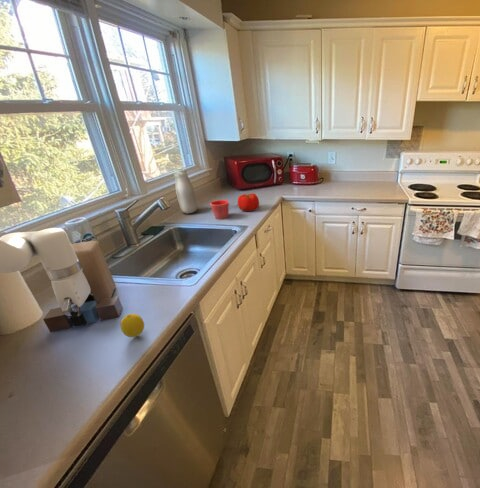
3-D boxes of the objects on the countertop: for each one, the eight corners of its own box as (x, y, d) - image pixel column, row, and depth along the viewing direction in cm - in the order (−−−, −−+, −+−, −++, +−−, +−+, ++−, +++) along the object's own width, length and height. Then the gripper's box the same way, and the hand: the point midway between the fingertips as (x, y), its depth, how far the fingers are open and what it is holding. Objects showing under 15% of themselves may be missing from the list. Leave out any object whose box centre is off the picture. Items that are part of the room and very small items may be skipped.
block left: (50, 332, 85) (42, 319, 83) (57, 321, 89) (50, 309, 87) (70, 327, 87) (63, 314, 85) (76, 317, 91) (70, 305, 89)
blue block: (77, 326, 87) (70, 313, 85) (82, 316, 92) (76, 304, 89) (96, 322, 89) (90, 309, 87) (100, 312, 93) (95, 300, 91)
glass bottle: (189, 209, 189) (179, 167, 177) (201, 211, 186) (192, 168, 174) (178, 214, 181) (167, 170, 169) (190, 216, 178) (180, 171, 165)
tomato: (257, 205, 196) (255, 191, 191) (261, 211, 185) (259, 195, 180) (237, 208, 191) (235, 193, 186) (240, 214, 180) (238, 198, 176)
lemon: (133, 329, 86) (125, 308, 82) (151, 329, 86) (143, 308, 82) (121, 342, 81) (112, 321, 77) (140, 343, 81) (131, 321, 77)
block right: (101, 321, 89) (95, 308, 87) (105, 311, 94) (100, 299, 91) (119, 317, 91) (114, 304, 89) (122, 308, 95) (118, 296, 93)
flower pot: (225, 213, 182) (223, 198, 178) (234, 217, 175) (231, 202, 171) (210, 217, 176) (207, 202, 171) (218, 221, 169) (215, 206, 164)
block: (76, 308, 95) (50, 256, 87) (85, 292, 103) (62, 244, 95) (111, 300, 99) (90, 250, 90) (117, 286, 107) (98, 238, 98)
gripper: (61, 258, 88) (81, 302, 95) (33, 288, 74) (60, 337, 81) (89, 254, 91) (107, 297, 98) (68, 282, 76) (91, 330, 83)
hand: (86, 315), depth 89 cm, fingers open, 9 cm apart
